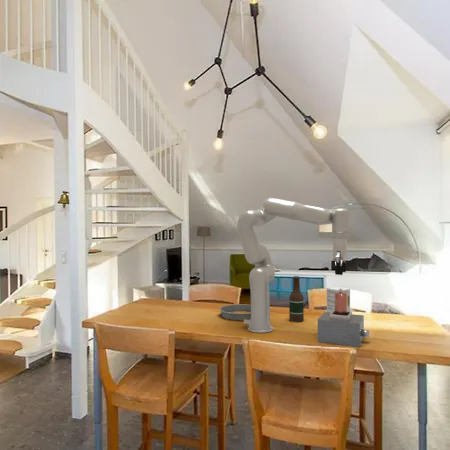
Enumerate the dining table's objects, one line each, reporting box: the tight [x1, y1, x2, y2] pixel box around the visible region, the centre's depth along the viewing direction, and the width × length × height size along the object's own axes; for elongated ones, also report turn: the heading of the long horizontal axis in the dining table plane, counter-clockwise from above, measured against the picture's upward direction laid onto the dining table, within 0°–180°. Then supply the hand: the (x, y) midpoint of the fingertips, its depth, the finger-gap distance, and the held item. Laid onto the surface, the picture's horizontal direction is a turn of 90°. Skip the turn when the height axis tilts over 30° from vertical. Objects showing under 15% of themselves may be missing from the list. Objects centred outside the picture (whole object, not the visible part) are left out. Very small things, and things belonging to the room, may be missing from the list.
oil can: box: [335, 289, 347, 315], centre depth 175 cm, size 5×5×15 cm
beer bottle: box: [288, 275, 305, 323], centre depth 208 cm, size 8×8×24 cm
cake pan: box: [219, 303, 251, 321], centre depth 220 cm, size 25×25×4 cm
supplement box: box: [326, 286, 351, 312], centre depth 211 cm, size 10×9×17 cm
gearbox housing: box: [316, 310, 370, 348], centre depth 174 cm, size 21×16×12 cm
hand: (340, 273), depth 175 cm, fingers open, 9 cm apart
